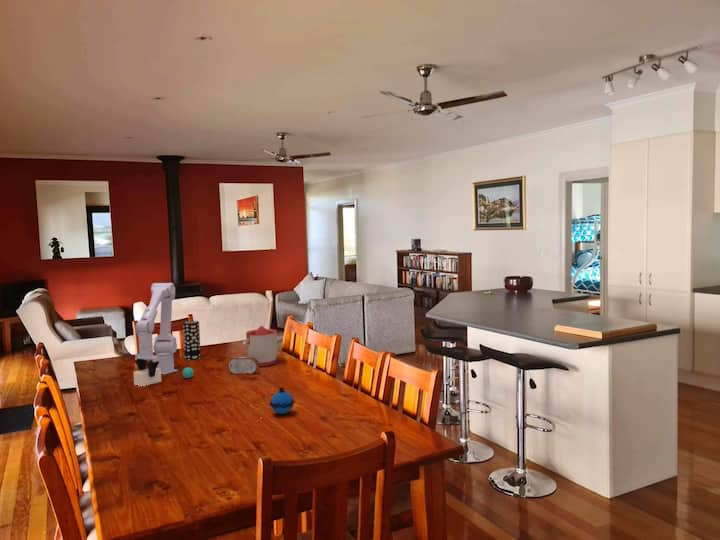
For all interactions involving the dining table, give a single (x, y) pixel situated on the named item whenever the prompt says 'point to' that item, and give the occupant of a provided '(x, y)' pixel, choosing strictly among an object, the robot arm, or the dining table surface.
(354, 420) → the dining table surface
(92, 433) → the dining table surface
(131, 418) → the dining table surface
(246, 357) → the tin
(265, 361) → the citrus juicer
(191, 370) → the ball
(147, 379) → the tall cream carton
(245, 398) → the dining table surface
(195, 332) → the white-spotted black cylinder
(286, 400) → the ornament
